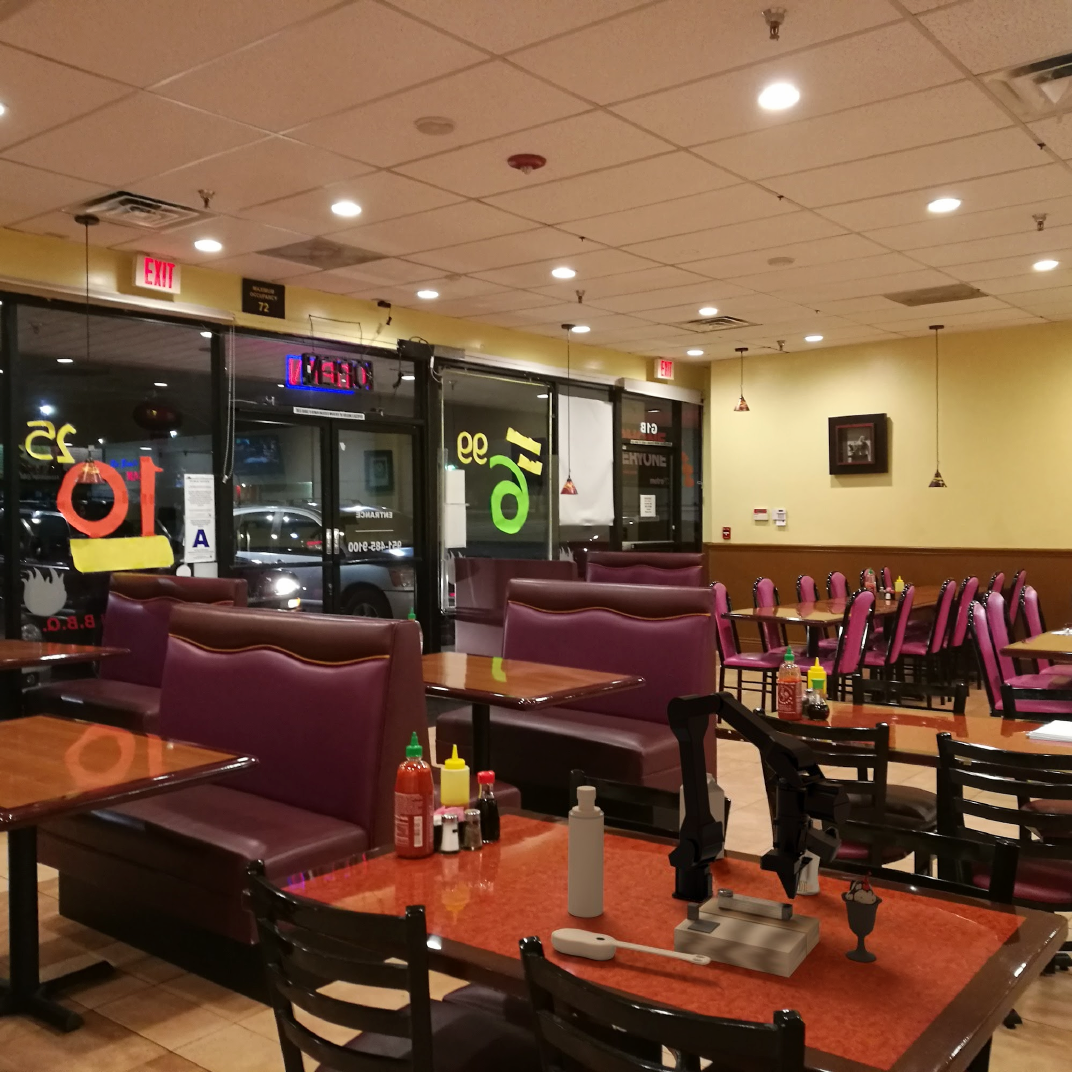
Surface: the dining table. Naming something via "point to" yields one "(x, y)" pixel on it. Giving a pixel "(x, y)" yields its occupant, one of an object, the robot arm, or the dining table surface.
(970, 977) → the dining table surface
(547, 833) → the dining table surface
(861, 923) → the sundae
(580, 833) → the spray bottle
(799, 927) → the wooden case with bar
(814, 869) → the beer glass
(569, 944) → the handheld milk frother
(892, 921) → the dining table surface
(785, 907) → the latch bar
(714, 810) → the milk carton
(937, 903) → the dining table surface
